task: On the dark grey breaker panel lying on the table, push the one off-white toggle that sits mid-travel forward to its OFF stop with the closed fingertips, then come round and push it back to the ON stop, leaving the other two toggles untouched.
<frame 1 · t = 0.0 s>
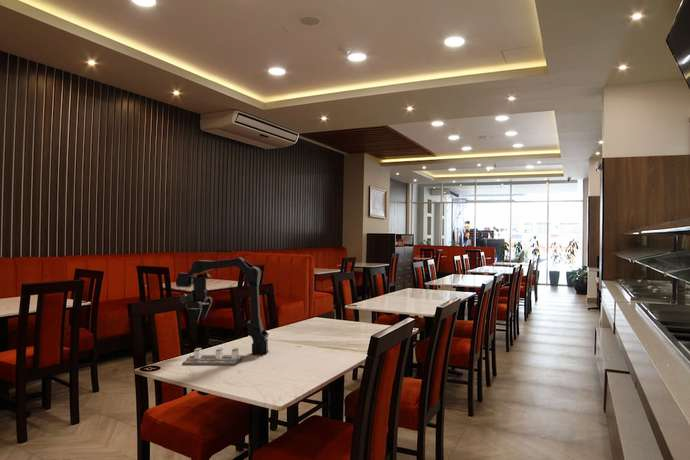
hand: (199, 321, 212), 14 cm above the table, fingers open, 9 cm apart
panel: (213, 360, 198), on the table
breaker c: (197, 353, 198), point 3 cm above the table, slide at 2.2 cm
breaker a: (235, 353, 198), point 3 cm above the table, slide at 0.0 cm
breaker b: (219, 353, 198), point 3 cm above the table, slide at 0.0 cm
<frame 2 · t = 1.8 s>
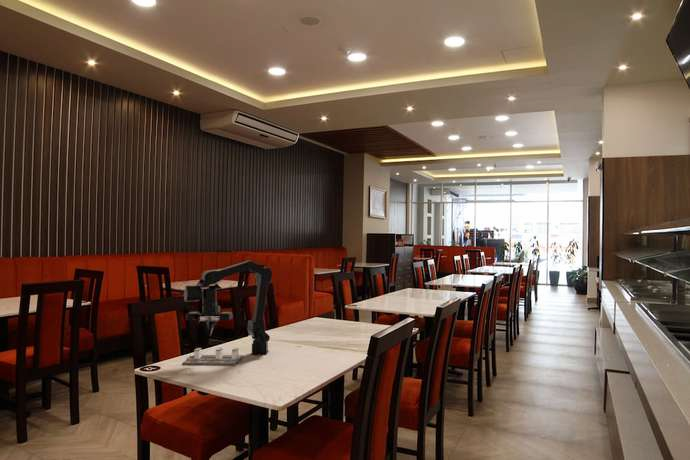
hand: (209, 335, 198), 11 cm above the table, fingers closed
nothing on the table moved.
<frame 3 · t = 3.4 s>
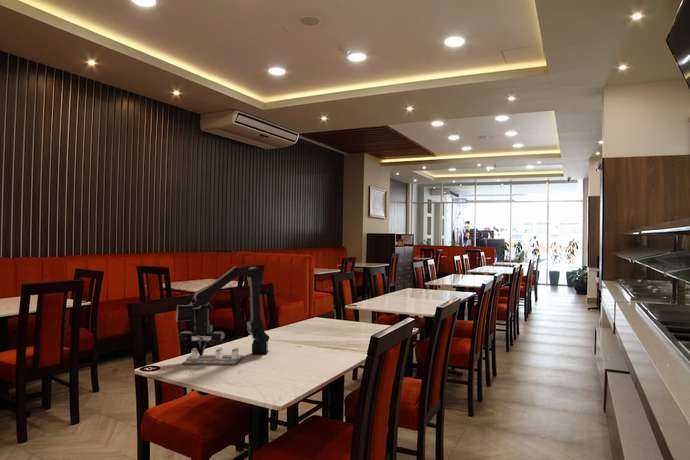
hand: (201, 355, 198), 2 cm above the table, fingers closed
breaker c: (195, 353, 199), point 3 cm above the table, slide at 3.6 cm, touching gripper
everything else where it was.
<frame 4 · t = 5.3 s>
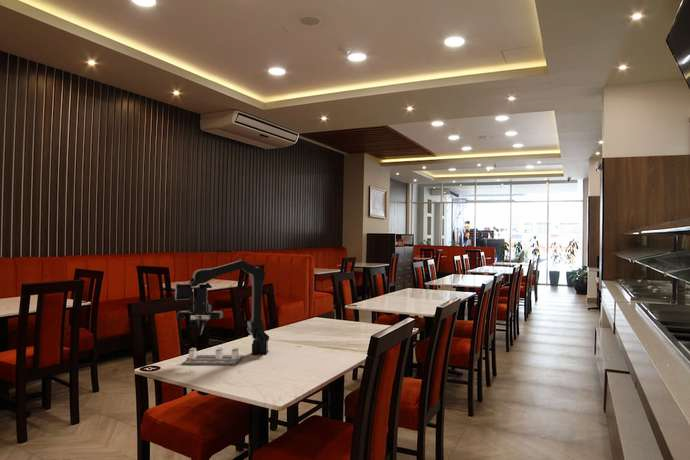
hand: (199, 334, 198), 11 cm above the table, fingers closed
breaker c: (192, 353, 199), point 3 cm above the table, slide at 4.5 cm
everything else where it was.
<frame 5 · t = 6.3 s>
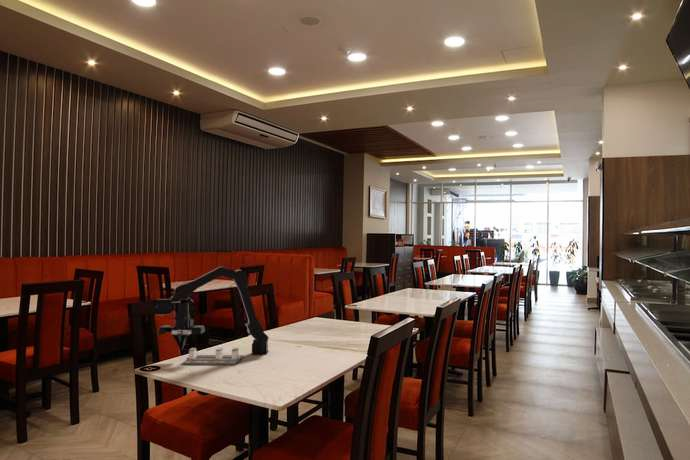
hand: (181, 349, 199), 5 cm above the table, fingers closed
nothing on the table moved.
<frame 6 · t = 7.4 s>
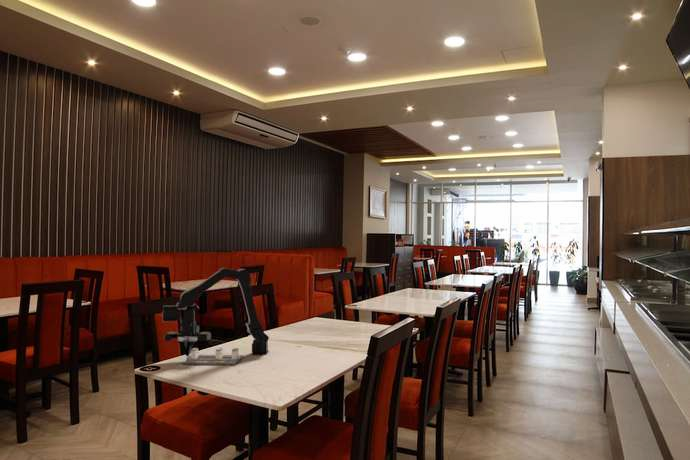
hand: (187, 356, 199), 2 cm above the table, fingers closed
breaker c: (194, 353, 199), point 3 cm above the table, slide at 3.8 cm, touching gripper
everything else where it was.
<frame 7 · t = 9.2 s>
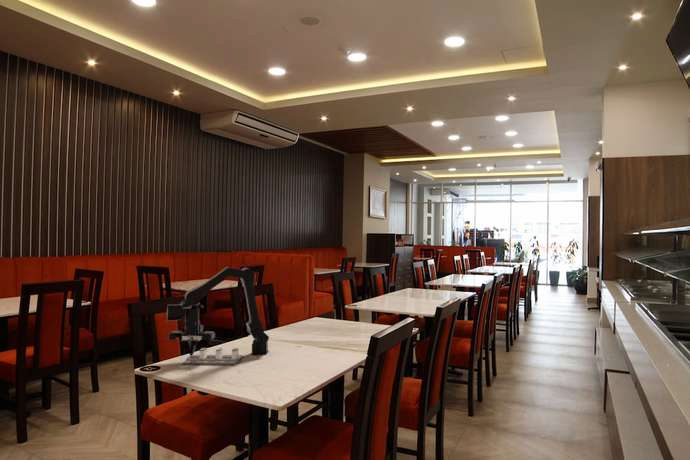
hand: (191, 355, 198), 2 cm above the table, fingers closed
breaker c: (203, 353, 198), point 3 cm above the table, slide at 0.0 cm
everything else where it was.
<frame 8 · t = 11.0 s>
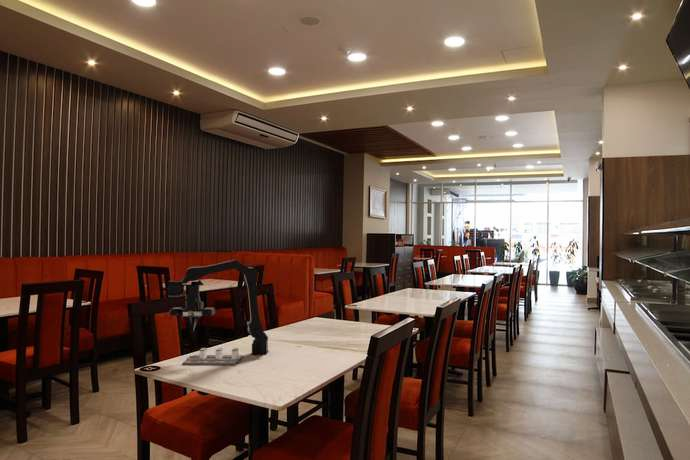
hand: (192, 331, 202), 12 cm above the table, fingers closed
nothing on the table moved.
at the end: breaker c slide at 0.0 cm; breaker a slide at 0.0 cm; breaker b slide at 0.0 cm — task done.
